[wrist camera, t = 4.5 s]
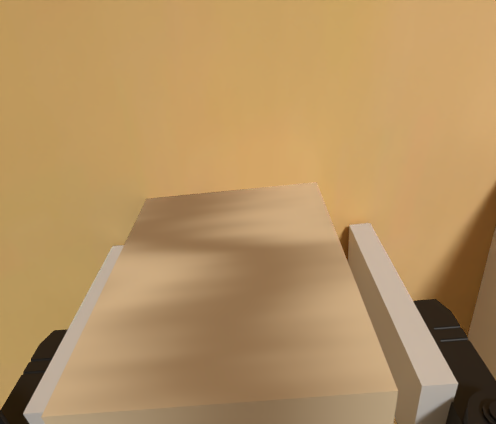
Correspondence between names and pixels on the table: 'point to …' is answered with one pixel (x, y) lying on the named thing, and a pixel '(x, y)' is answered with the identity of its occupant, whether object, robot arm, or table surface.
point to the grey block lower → (486, 314)
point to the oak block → (229, 321)
